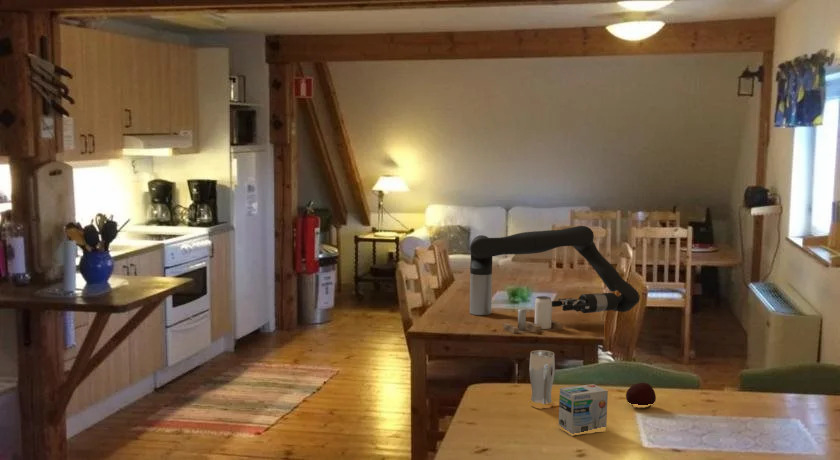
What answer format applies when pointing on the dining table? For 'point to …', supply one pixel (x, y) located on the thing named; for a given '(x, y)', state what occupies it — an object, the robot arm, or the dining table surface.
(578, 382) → the dining table surface
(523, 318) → the grey peg
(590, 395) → the light bulb box
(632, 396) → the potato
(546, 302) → the can
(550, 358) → the beer glass
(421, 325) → the dining table surface
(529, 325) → the rail
